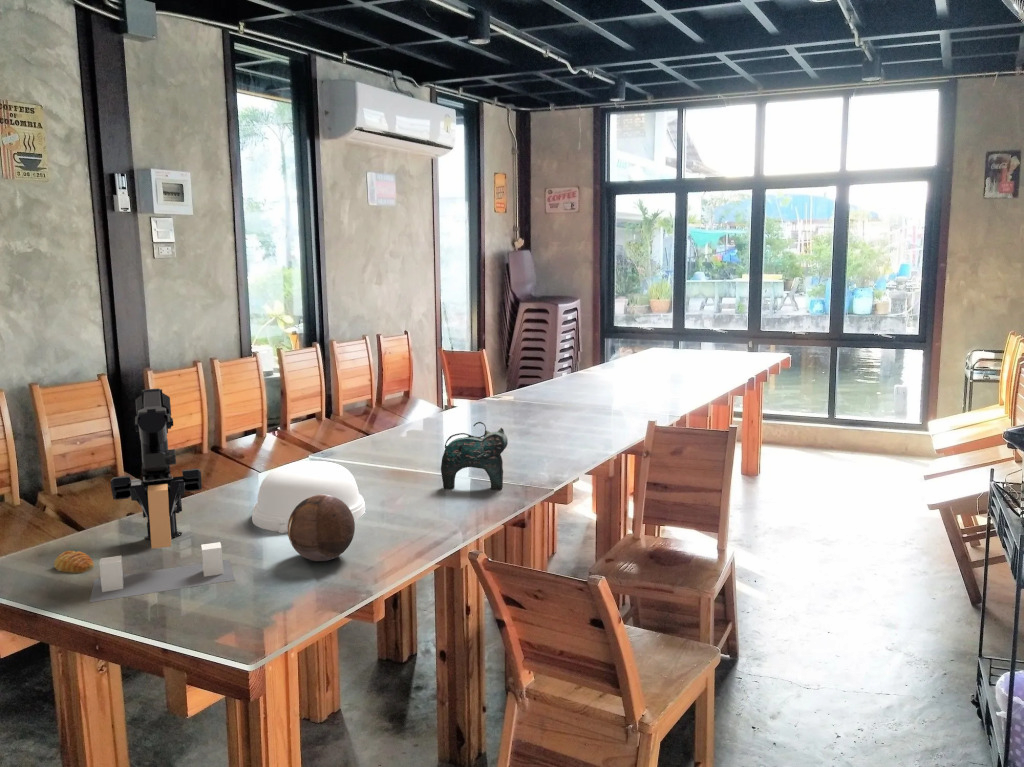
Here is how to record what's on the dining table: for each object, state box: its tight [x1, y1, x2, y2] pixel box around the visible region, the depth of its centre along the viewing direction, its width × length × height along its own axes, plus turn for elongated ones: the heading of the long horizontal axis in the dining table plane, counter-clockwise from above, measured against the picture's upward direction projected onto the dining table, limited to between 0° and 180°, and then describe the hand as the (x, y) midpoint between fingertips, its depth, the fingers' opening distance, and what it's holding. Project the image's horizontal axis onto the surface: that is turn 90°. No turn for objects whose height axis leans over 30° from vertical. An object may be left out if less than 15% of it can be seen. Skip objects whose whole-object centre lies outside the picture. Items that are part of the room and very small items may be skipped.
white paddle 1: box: [98, 555, 124, 592], centre depth 180 cm, size 4×4×6 cm
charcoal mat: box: [89, 559, 235, 603], centre depth 185 cm, size 14×28×1 cm, turn 112°
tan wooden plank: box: [148, 484, 172, 550], centre depth 190 cm, size 5×4×13 cm
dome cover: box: [251, 460, 366, 534], centre depth 231 cm, size 32×30×14 cm
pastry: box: [53, 550, 95, 574], centre depth 193 cm, size 9×7×4 cm
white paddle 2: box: [200, 541, 223, 577], centre depth 188 cm, size 4×4×6 cm
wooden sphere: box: [287, 495, 356, 562], centre depth 196 cm, size 15×15×15 cm
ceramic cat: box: [440, 421, 509, 490], centre depth 254 cm, size 20×6×20 cm, turn 84°
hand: (159, 516), depth 189 cm, fingers closed on tan wooden plank, 4 cm apart
